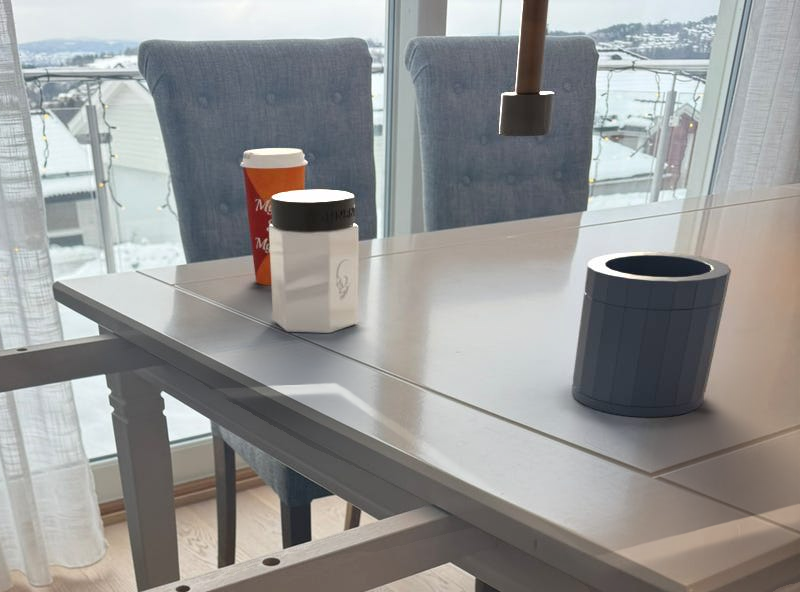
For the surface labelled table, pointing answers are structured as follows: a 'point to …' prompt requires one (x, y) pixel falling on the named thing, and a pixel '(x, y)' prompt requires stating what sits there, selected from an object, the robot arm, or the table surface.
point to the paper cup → (268, 196)
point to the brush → (529, 78)
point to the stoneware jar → (648, 332)
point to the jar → (314, 260)
